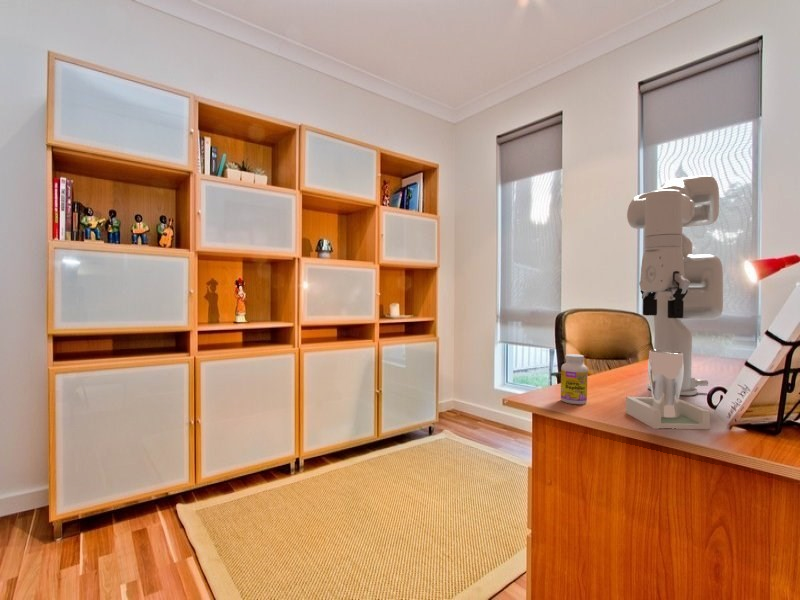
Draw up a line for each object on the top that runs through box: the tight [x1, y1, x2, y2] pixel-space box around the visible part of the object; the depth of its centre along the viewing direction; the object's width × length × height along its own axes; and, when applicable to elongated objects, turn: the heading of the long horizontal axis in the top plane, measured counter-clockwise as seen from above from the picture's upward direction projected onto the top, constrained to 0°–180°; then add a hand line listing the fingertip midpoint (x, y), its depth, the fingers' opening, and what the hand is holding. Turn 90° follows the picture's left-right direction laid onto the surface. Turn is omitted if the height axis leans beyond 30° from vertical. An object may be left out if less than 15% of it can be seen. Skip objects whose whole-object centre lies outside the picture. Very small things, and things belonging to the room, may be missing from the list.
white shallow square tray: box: [625, 396, 711, 430], centre depth 97 cm, size 12×12×4 cm
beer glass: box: [647, 349, 684, 419], centre depth 97 cm, size 7×7×15 cm
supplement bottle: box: [560, 353, 589, 405], centre depth 113 cm, size 7×7×13 cm
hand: (661, 316), depth 98 cm, fingers open, 9 cm apart
